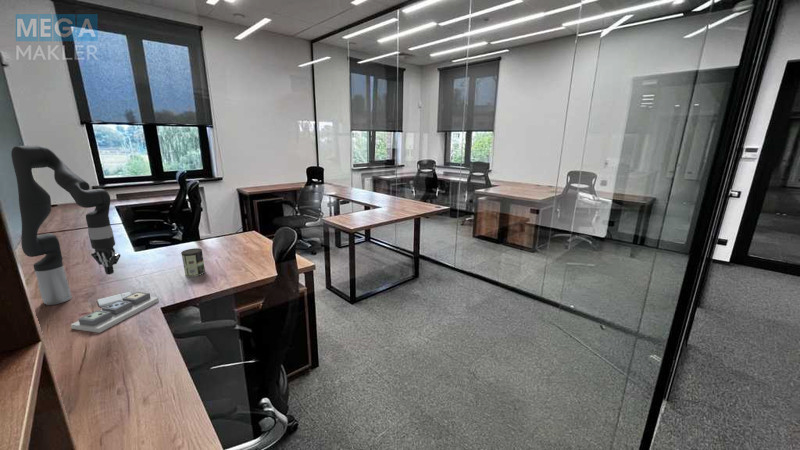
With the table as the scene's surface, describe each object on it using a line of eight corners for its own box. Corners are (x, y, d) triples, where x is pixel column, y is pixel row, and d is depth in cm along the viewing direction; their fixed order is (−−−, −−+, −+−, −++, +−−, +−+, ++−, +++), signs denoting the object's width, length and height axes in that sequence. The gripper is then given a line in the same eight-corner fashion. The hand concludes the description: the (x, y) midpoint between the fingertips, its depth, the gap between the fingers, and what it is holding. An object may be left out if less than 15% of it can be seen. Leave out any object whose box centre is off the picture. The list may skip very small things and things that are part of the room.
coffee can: (202, 268, 195) (198, 246, 192) (207, 273, 189) (204, 251, 185) (182, 273, 188) (178, 250, 184) (187, 278, 181) (183, 255, 178)
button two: (84, 323, 133) (83, 317, 132) (97, 316, 138) (96, 311, 137) (94, 324, 132) (93, 318, 132) (107, 318, 137) (106, 312, 136)
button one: (127, 302, 150) (126, 297, 150) (137, 297, 155) (136, 292, 154) (136, 303, 149) (135, 298, 149) (146, 298, 154) (145, 293, 154)
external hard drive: (97, 302, 155) (130, 293, 164) (100, 308, 150) (133, 299, 159) (97, 299, 155) (129, 290, 164) (99, 305, 149) (133, 296, 158)
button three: (107, 312, 142) (106, 306, 141) (119, 306, 147) (117, 301, 146) (116, 313, 141) (115, 307, 140) (128, 307, 146) (126, 302, 145)
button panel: (71, 328, 133) (69, 319, 131) (134, 298, 158) (133, 290, 157) (99, 332, 130) (97, 323, 129) (158, 301, 156) (157, 292, 155)
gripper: (79, 237, 133) (88, 275, 138) (105, 240, 131) (113, 278, 136) (98, 232, 141) (106, 269, 145) (123, 234, 138) (131, 271, 143)
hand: (110, 273), depth 140 cm, fingers closed
